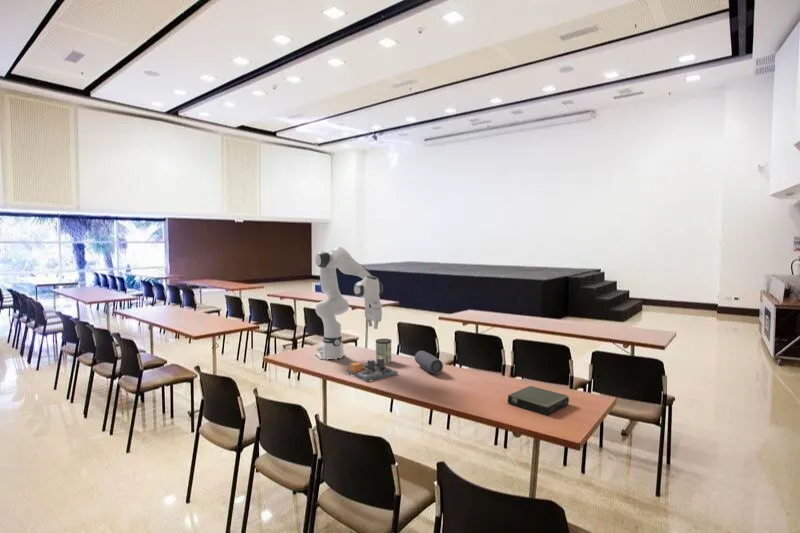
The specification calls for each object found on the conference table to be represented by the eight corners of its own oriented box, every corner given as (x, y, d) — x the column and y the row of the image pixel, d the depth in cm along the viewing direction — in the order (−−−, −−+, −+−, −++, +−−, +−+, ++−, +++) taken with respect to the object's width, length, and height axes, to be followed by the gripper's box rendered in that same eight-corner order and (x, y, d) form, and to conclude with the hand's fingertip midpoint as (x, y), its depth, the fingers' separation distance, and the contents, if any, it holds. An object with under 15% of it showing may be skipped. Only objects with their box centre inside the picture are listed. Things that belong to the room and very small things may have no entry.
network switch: (525, 393, 233) (525, 383, 233) (571, 404, 218) (571, 393, 218) (504, 406, 215) (505, 396, 215) (553, 418, 200) (553, 407, 200)
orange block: (350, 370, 265) (350, 363, 265) (357, 368, 268) (357, 362, 268) (354, 372, 261) (354, 365, 261) (361, 370, 264) (361, 363, 264)
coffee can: (376, 359, 296) (376, 338, 295) (392, 359, 295) (392, 338, 294) (374, 363, 286) (374, 341, 285) (390, 364, 285) (390, 342, 284)
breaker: (377, 367, 269) (377, 357, 269) (381, 366, 271) (381, 357, 271) (380, 368, 267) (380, 358, 267) (384, 367, 269) (384, 358, 268)
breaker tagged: (367, 369, 265) (367, 359, 264) (371, 368, 267) (371, 359, 266) (370, 370, 263) (370, 360, 262) (374, 369, 264) (374, 360, 264)
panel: (347, 373, 265) (347, 368, 265) (377, 366, 279) (377, 361, 278) (366, 382, 249) (366, 376, 249) (397, 374, 263) (397, 369, 263)
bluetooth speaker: (443, 374, 263) (444, 358, 262) (429, 376, 260) (429, 359, 259) (427, 364, 284) (427, 349, 283) (413, 366, 281) (413, 350, 280)
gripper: (361, 302, 269) (362, 325, 270) (372, 306, 250) (373, 330, 251) (371, 301, 272) (372, 324, 272) (383, 305, 253) (384, 329, 253)
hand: (373, 327), depth 261 cm, fingers open, 8 cm apart
